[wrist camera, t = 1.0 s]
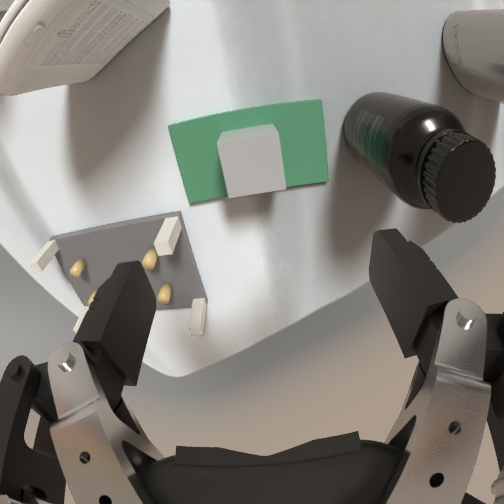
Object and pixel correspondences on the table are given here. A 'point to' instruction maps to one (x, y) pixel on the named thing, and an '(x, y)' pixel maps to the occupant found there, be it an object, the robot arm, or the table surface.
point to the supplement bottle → (421, 154)
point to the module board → (291, 141)
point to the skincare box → (5, 4)
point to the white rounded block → (66, 39)
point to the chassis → (131, 249)
